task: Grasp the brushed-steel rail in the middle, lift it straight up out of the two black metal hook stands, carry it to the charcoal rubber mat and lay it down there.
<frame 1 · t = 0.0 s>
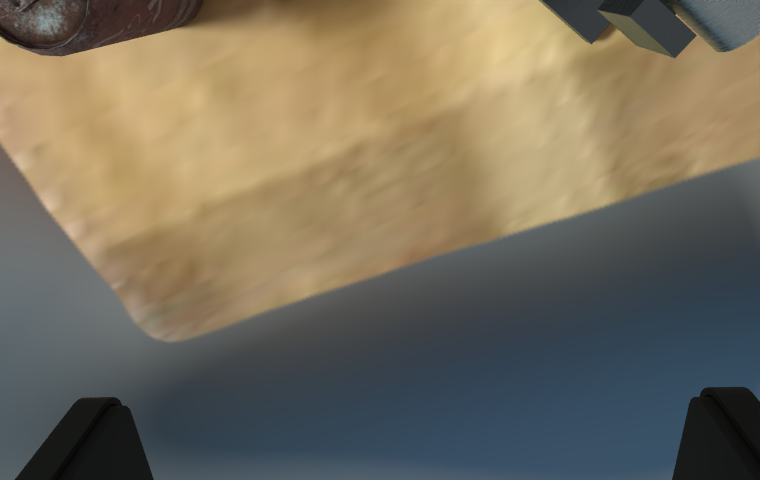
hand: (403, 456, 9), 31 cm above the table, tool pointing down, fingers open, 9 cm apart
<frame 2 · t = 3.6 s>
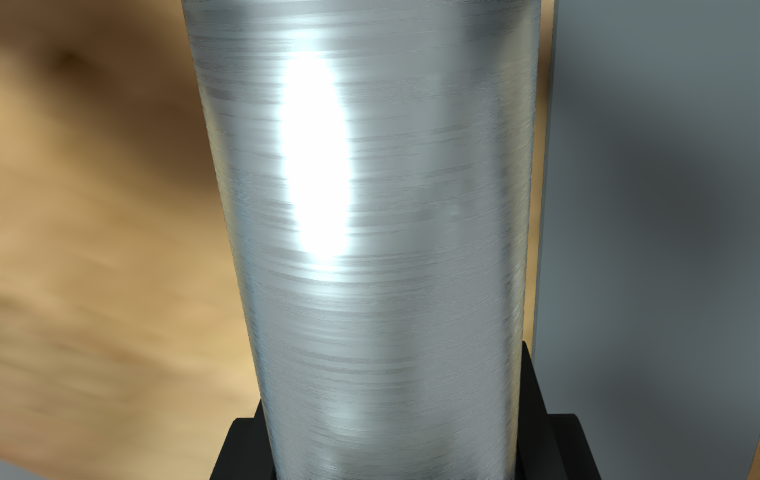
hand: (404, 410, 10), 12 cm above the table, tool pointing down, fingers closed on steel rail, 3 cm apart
rubber mat: (682, 178, 20), on the table
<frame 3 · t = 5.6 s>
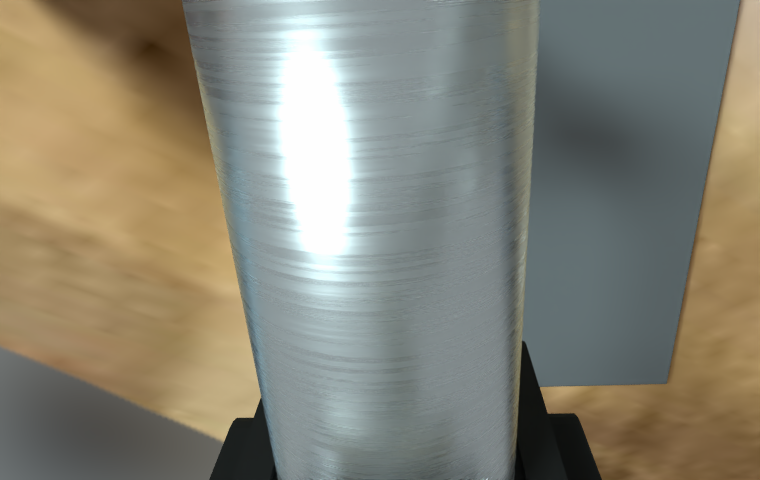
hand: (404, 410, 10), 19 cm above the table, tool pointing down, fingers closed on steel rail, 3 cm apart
rubber mat: (603, 135, 27), on the table
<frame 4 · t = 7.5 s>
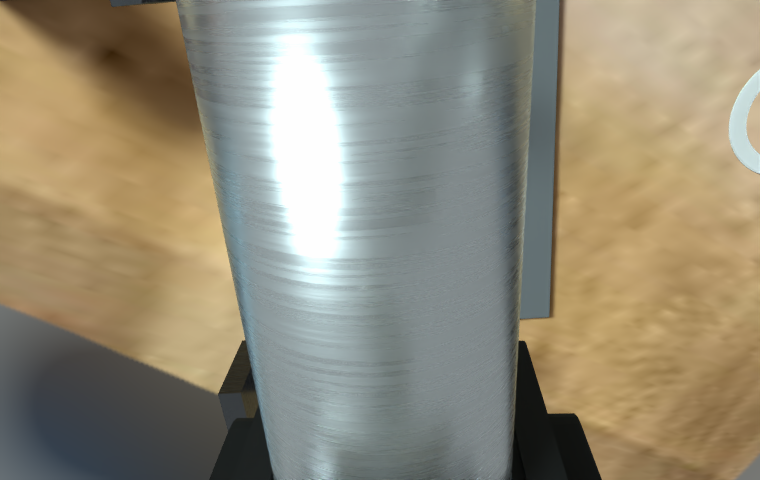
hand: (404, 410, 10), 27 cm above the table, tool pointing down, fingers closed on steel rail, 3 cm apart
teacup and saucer: (750, 152, 36), on the table
hook stands: (312, 125, 35), on the table
rubber mat: (471, 111, 35), on the table
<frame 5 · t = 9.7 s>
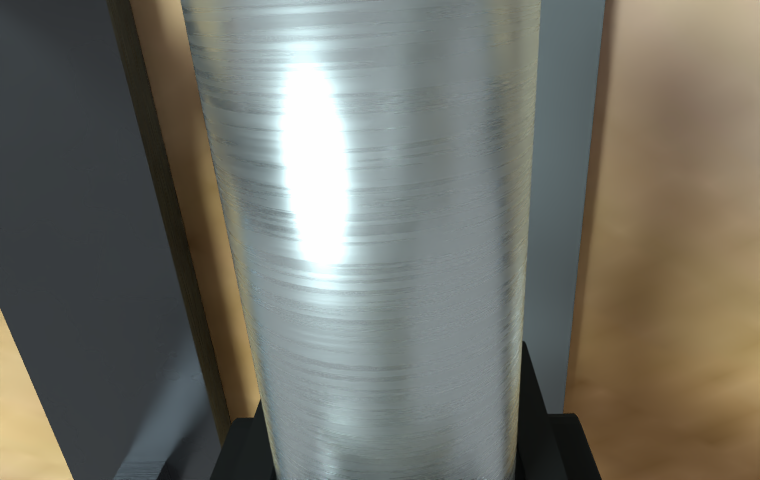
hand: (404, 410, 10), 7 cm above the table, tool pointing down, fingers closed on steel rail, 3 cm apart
hook stands: (96, 246, 18), on the table
rubber mat: (408, 235, 17), on the table
when the fingers open (1 cm above the table, at t = 11.4 s): steel rail drops 2 cm, resting on rubber mat.
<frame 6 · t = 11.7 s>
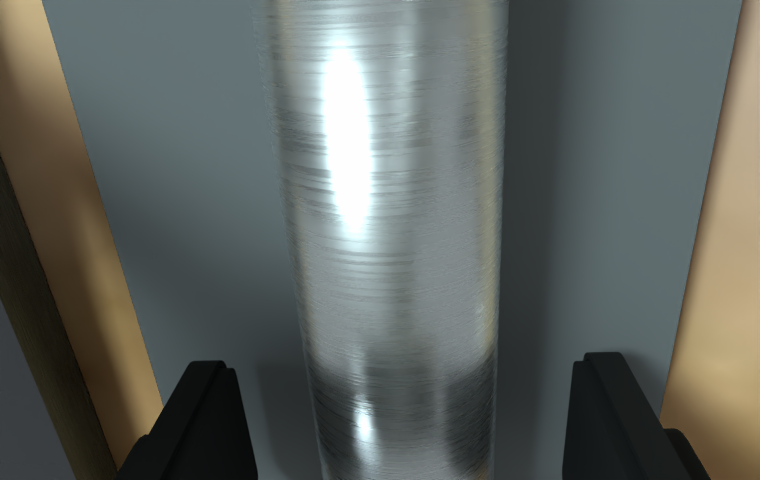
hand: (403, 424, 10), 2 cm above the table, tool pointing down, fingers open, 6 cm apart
rubber mat: (404, 369, 12), on the table
steel rail: (406, 445, 10), point 2 cm above the table, touching rubber mat
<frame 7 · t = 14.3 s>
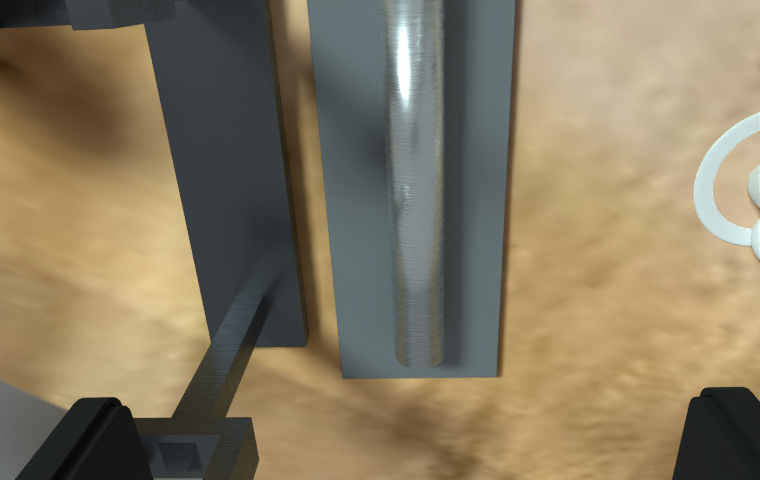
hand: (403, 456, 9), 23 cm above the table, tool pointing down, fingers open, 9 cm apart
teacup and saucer: (716, 216, 32), on the table
hook stands: (234, 157, 31), on the table
rubber mat: (413, 151, 31), on the table
steel rail: (415, 162, 29), point 2 cm above the table, touching rubber mat
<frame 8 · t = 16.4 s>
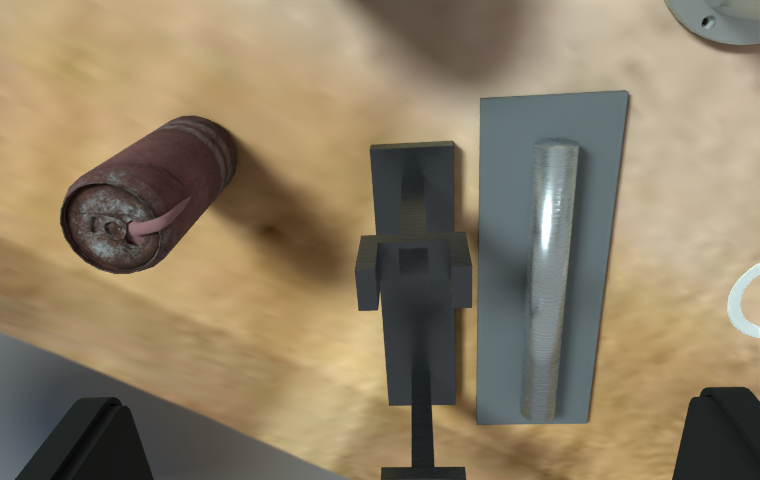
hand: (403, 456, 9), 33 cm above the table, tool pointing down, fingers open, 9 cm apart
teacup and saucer: (742, 318, 47), on the table
hook stands: (417, 283, 46), on the table
rubber mat: (539, 279, 46), on the table
steel rail: (545, 292, 44), point 2 cm above the table, touching rubber mat
can: (201, 152, 43), on the table
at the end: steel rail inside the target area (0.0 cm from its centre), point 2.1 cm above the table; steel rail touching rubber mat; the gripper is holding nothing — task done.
